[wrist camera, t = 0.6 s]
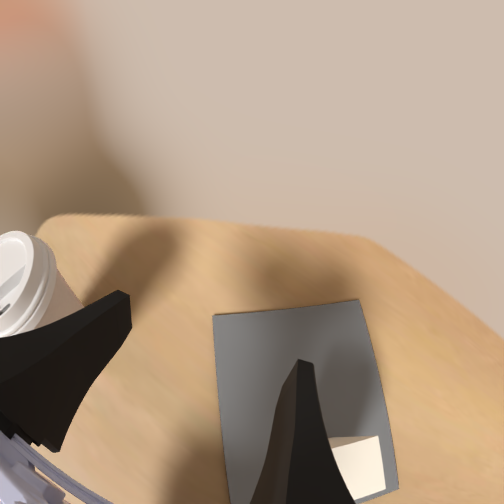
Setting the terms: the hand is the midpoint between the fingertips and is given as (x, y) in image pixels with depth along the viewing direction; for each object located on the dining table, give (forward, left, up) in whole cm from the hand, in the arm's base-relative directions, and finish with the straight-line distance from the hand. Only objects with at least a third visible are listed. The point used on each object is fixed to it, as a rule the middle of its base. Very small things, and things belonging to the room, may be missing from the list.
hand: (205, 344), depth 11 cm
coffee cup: (+5, +16, -17) cm, 24 cm away
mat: (-3, -7, -17) cm, 18 cm away
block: (-8, -7, -16) cm, 19 cm away
